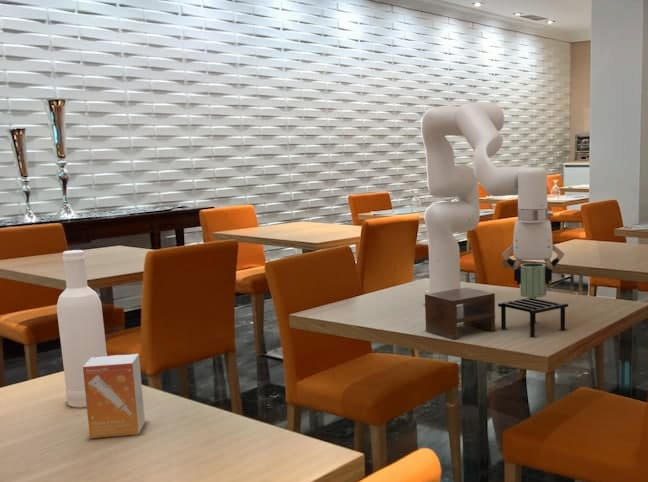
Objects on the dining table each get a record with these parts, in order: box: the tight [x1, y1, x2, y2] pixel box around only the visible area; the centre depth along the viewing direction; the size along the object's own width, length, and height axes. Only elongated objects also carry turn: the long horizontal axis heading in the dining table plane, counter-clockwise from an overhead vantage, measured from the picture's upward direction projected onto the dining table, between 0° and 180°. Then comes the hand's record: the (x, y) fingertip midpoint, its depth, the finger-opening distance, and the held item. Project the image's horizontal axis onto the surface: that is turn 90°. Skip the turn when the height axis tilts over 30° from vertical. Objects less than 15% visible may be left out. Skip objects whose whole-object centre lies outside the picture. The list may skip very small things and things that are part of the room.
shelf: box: [424, 287, 496, 340], centre depth 198 cm, size 12×14×10 cm
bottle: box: [56, 249, 108, 408], centre depth 146 cm, size 8×8×30 cm
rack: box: [497, 297, 569, 338], centre depth 198 cm, size 13×13×7 cm
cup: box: [519, 262, 548, 299], centre depth 196 cm, size 7×7×8 cm
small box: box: [83, 353, 146, 439], centre depth 131 cm, size 8×6×13 cm
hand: (533, 283), depth 196 cm, fingers closed on cup, 7 cm apart
